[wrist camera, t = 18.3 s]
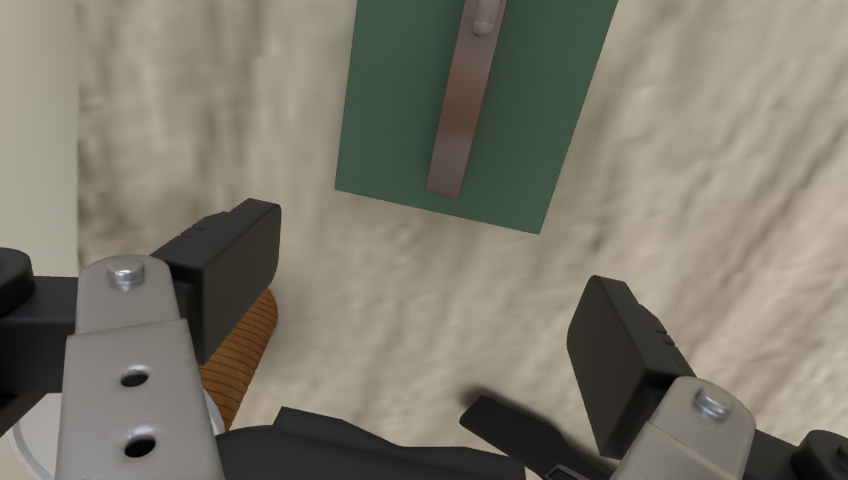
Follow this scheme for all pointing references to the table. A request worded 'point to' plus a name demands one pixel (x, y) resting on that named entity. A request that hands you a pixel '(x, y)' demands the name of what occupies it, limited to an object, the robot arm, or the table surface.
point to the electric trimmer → (530, 442)
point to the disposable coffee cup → (219, 379)
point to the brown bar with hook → (464, 94)
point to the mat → (500, 113)
